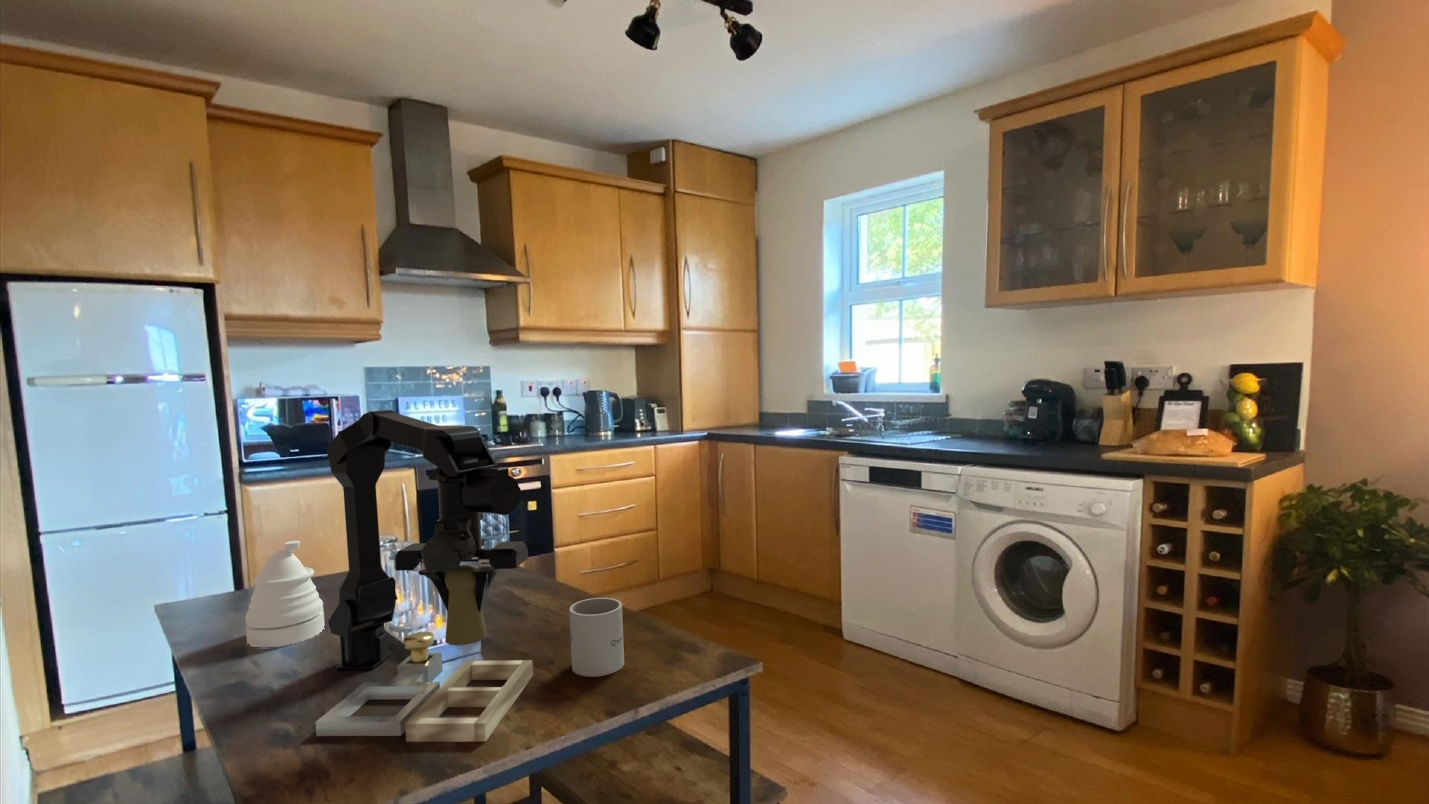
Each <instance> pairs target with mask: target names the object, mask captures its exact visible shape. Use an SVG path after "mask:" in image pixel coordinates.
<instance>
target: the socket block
mask: <svg viewBox="0 0 1429 804" xmlns="http://www.w3.org/2000/svg"><path fill="white" fill-rule="evenodd" d="M442 655H443V653H442V652H428V658H429V660H428V661H427V662H426V663H425V664H411V654H410V655H409V656H407V657H406V658H405V659H404V660H403V661H402V662H400V663H399V664H398V665H397V666H396V667H397V668H396V669H397V675H396V676H395V677H393V678H392V679H391V680H389V681H383V682H382V681H379V682H377V681H375V682H374V681H373V682H371V681H370V682H367V681H363V683H361V684H360V685H359V686H358V687H357V688H355V689H354V690H353V691H351V693H349V694H348V695H347V696H345V697H344V698H343V699H341V700H340V701H339V702H338V703H337V704H336V705H334V707H331V709H329V710H328V711H327V712H326V713H325V714H324V715H322V716H320V718H319V719H317V720H315V733H316V736H317V737H374V736H375V737H380V736H381V737H382V736H383V737H389V736H390V737H398V736H399V737H401V736H402V735H403V734H404V733H406V730H405V723H406V722H407V721H408V720H409V719H410V718H411V717H412V716H413V715H414V714H415V713H416V712H417V711H418V710H419V709H420V708H421V707H422V706H423V705H424V704H425V703H426V702H427V701H428V700H429V699H430V698H431V697H432V695H433V694H434V693H435V692H436V691H437V690H438V689H439V688H440V687H441V685H440V684H441V683H440V681H434V680H435V679H436V677H438V676H439V675H440V674H441V673H442V672H443V671H444V670H443V656H442ZM370 700H410V701H409V702H408V703H407V704H406V705H405V706H403V708H402V709H401V710H399V712H398V713H396V714H395V715H370V716H369V715H367V716H365V715H363V716H362V715H358V716H357V715H353V714H354V713H355V712H357V710H359V709H360V708H361V707H362V706H363V705H365V704H366V703H367V702H368V701H370Z"/></svg>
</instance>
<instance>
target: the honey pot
mask: <svg viewBox="0 0 1429 804" xmlns="http://www.w3.org/2000/svg"><path fill="white" fill-rule="evenodd" d="M284 546H285V547H284V548H285V549H279V550H276V551H275V552H273V553H272V554H271V555H270V557H269V558H268V559H267V561H266V562H265V563H264V566H263V568H262V570H261V572H260V574H259V575H257V576H256V577H254V579H253V581H252V583H254V585H255V588H254V589H253V593H252V595H251V597H250V603H249V605H248V610H247V612H246V614H245V618H244V620H245V624H246V626H245V635H246V637H245V638H246V645H248V644H249V645H250V646H252V647H267V648H266V649H269V648H268V647H277V648H282V646H283V647H287V646H286V645H288V646H290V645H289V644H292V645H295V644H294V643H296V644H298V643H297V642H300V641H303V642H305V641H304V640H306V639H309V638H311V639H313V638H315V637H314V636H315V635H317V636H319V635H320V634H319V633H320V632H322V630H323V629H324V630H325V628H324V626H325V613H324V612H325V611H324V602H323V600H322V599H321V598H320V595H319V592H318V591H317V586H316V585H315V584H314V582H313V581H312V577H313V576H314V575H315V570H314V569H313V568H312V567H307V566H306V567H305V566H304V565H303V563H302V562H301V560H300V559H299V558H298V557H297V556H296V555H295V554H294V553H295V552H297V551H298V550H299V548H300V546H301V541H300V540H290V541H286V542H284ZM322 633H323V632H322ZM318 634H319V635H318ZM312 637H313V638H312ZM309 640H310V639H309ZM306 641H307V640H306ZM300 643H301V642H300ZM250 646H249V647H250ZM252 647H251V648H252Z"/></svg>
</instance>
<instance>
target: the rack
mask: <svg viewBox="0 0 1429 804" xmlns="http://www.w3.org/2000/svg"><path fill="white" fill-rule="evenodd" d="M533 663H534V662H533V660H532V659H523V660H522V659H521V660H520V659H519V660H518V659H516V660H515V659H514V660H513V659H512V660H505V659H504V660H465V661H464V662H463V663H462V664H461V665H460V666H459V668H457V670H456V671H455V672H454V673H453V674H452V675H451V676H450V677H449V678H448V679H447V680H446V681H445V682H444V683H443V684H441V685H440V688H439V689H438V690H437V691H436V692H435V693H434V694H433V695H432V697H431V698H430V699H429V700H428V701H427V702H426V703H425V704H424V705H423V706H422V707H421V708H420V709H419V710H418V711H417V712H416V713H415V714H414V715H413V716H412V717H411V718H410V719H409V720H408V721H407V722H406V723H405V730H406V731H405V742H406V743H408V742H410V743H413V742H415V743H418V742H419V743H420V742H424V743H425V742H429V743H430V742H431V743H433V742H434V743H435V742H436V743H437V742H441V743H442V742H444V743H445V742H447V743H448V742H449V743H450V742H454V743H455V742H457V743H459V742H461V743H462V742H464V743H465V742H470V743H471V742H472V743H473V742H483V743H484V742H485V743H486V742H487V740H488V739H489V738H490V737H491V735H492V734H493V732H494V731H495V729H497V727H498V726H499V724H500V723H501V721H502V720H503V718H504V717H505V716H506V714H507V713H508V712H509V710H510V708H511V707H512V706H513V704H514V703H515V701H516V700H517V699H518V698H519V696H520V694H521V693H522V692H523V690H524V688H526V686H527V684H528V683H529V682H530V681H531V680H532V678H533V676H534V668H533V665H534V664H533ZM474 680H475V681H485V680H486V681H491V680H492V681H493V680H495V681H496V680H497V681H499V680H501V681H504V680H506V682H505V683H504V685H502V686H499V687H497V686H496V687H493V686H490V687H489V686H487V687H484V686H483V687H482V686H481V687H477V686H475V687H473V686H472V687H469V686H468V685H470V683H471V682H472V681H474ZM448 708H484V710H483V711H482V712H481V714H480V715H479V716H478V717H441V716H442V715H443V713H445V711H446V710H447V709H448Z"/></svg>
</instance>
